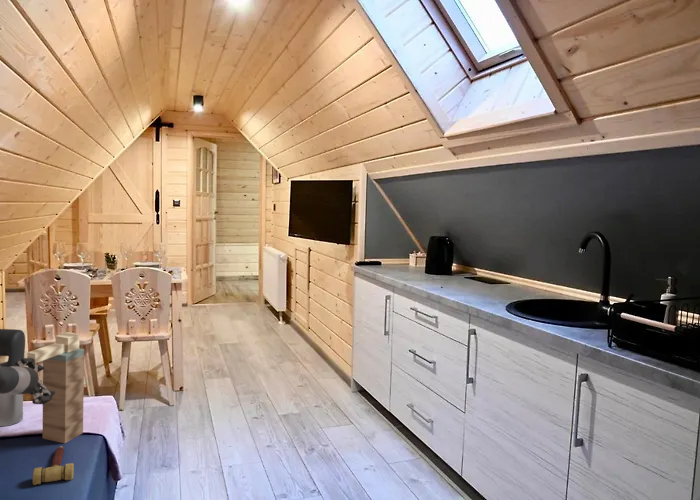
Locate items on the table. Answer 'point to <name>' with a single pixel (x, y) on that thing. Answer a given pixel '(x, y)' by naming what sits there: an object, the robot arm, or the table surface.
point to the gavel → (54, 470)
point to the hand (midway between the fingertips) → (46, 381)
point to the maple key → (56, 347)
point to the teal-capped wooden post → (64, 396)
